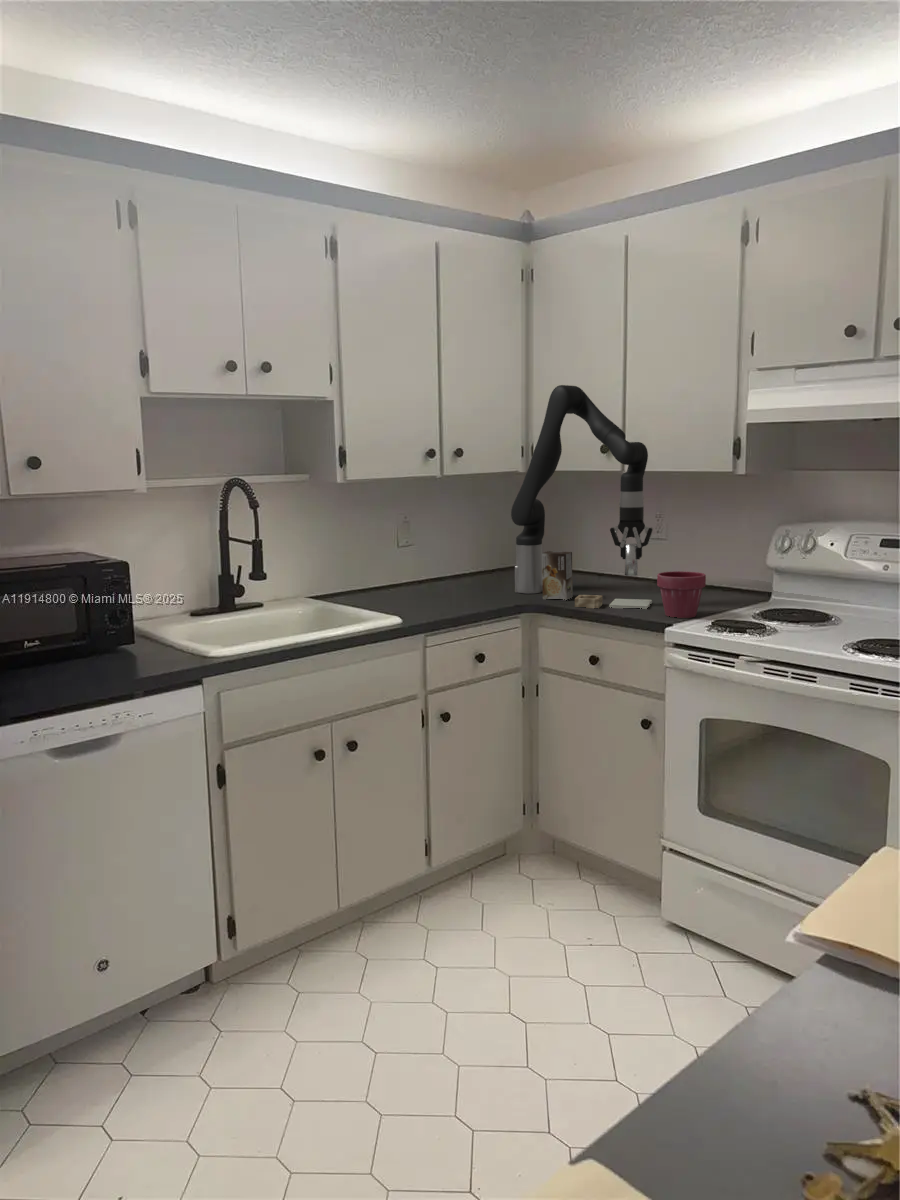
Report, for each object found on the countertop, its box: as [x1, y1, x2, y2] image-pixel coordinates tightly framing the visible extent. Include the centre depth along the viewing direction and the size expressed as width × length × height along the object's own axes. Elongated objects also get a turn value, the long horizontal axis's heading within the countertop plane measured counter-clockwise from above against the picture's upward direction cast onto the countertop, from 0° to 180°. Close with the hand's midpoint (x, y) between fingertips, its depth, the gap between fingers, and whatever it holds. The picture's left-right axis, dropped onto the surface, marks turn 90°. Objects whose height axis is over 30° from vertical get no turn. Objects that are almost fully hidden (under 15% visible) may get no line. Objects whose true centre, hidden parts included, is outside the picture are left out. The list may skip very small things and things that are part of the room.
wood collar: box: [574, 594, 603, 609], centre depth 289 cm, size 8×8×3 cm
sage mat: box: [608, 598, 653, 610], centre depth 288 cm, size 12×12×1 cm
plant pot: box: [656, 570, 707, 619], centre depth 268 cm, size 14×14×13 cm
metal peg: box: [624, 543, 639, 577], centre depth 286 cm, size 4×4×10 cm
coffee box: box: [542, 550, 574, 601], centre depth 303 cm, size 9×6×16 cm
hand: (631, 558), depth 286 cm, fingers closed on metal peg, 4 cm apart
